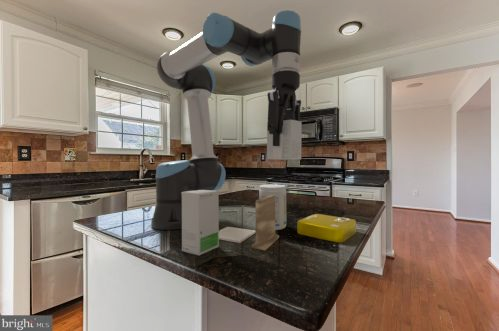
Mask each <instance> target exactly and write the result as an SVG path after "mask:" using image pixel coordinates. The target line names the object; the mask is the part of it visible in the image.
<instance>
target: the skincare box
mask: <svg viewBox="0 0 499 331" xmlns="http://www.w3.org/2000/svg"><path fill="white" fill-rule="evenodd" d="M219 193H220V192H219V190H217V191H215V190H196V191H186V192H182V193H181V194H182V229H181V252H184V253H188V254H190V255H194V256H201V255H204V254H206V253H208V252H210V251H212V250H215V249H217V248H219V246H220V239H219V230H220V228H219V226H220V224H219V223H220V219H219V216H220V215H219V214H220V213H219V210H220V207H219V204H220V203H219V202H220V201H219V197H220V196H219Z"/></svg>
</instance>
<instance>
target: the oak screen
mask: <svg viewBox="0 0 499 331" xmlns="http://www.w3.org/2000/svg"><path fill="white" fill-rule="evenodd" d="M255 231H256V233H255V242H253V243H252V244H251V247H250V248H251V249H256V250H262V251H266V250H268V248H270V247H271V246H272V245H273V244H275V242H276V241H278V239H279V238H280V234H279V235H278V234H276V230H275V195H269V196H266V197H264V198H261V199H259V198H258V199H256V200H255Z"/></svg>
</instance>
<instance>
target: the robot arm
mask: <svg viewBox="0 0 499 331" xmlns="http://www.w3.org/2000/svg"><path fill="white" fill-rule="evenodd" d="M271 25H272V27H271V28H269V29H267V30H265V31H263V32H261V33H259V32H257V31H256V30H253V29H252V28H249V27H247V26H245V25H244V24H242V23H239V22H237V21H235V20H234V19H232V18H230V17H228V16H226V15H223V14H221V13H218V12H211V13H209V14H208V15H207V16H206V19H205V20H204V22H203V24H202V30H201V32H200V33H198V34H197V35H196V36H194V37H193V38H191V39H190V40H188V41H187V42H185V43H183V44H182V45H181V46H179V47H178V48H176V49H175V50H168V51H166V52H164V53H163V54H162V55H160V56H159V58H158V60H157V63H156V71H157V74H158V76H159V78H160V80H161V81H162V82H163V83H164V84H165V85H166V86H168V87H171V88H174V89H176V90H180V91H182V97H183V98H184V100H186V102H187V112H188V121H189V122H188V124H189V133H190V134H189V135H190V142H191V145H190V146H191V157H190V158H189V159H188V160H186V159H185V160H184V159H183V160H173V161H172V160H171V161H168V162H167V161H165V162H162V163H158V165H157V166H156V168H155V185H156V186H155V196H156V197H155V198H156V199H155V201H156V202H155V203H156V205H155V208H154V212H153V216H152V218H151V221H150V225H151V228H153V229H155V230H162V231H171V230H172V231H174V230H182V194H181V193H182V192H186V191H196V190H215V191H219V190H220V189H221V188H222V187H223V185H224V184H225V180H226V173H227V172H226V169H225V167H224V165H223V164H221V163H220V162H219V157H218V156H216V155H215V154H214V153H215V152H214V145H213V137H212V136H213V134H212V133H213V132H212V127H211V126H212V125H211V124H212V123H211V116H210V115H211V114H210V107H209V106H210V105H209V99H210V98H211V97H212V94H213V93H214V90H215V89H216V87H215V86H216V76H215V73H214V71H213V70H212V69H211V68H210V67H208V66H206V65H204V64H205V63H207V62H209V61H211V60H213V59H215V58H218V57H220V56H221V55H224V54H225V53H231V54H233V55H237V56H239V57H240V58H241V60H242V62H244V64H245V65H246V66H249V67H254V66H258V65H261V64H263V63H265V62H268V61H271V73H272V75H271V88H272V89H273V90H274V91H271V92H267V101H268V106H267V122H268V125H267V124H266V131H267V130H268V131H269V134H273V159H272V160H276V159H283V134H281V132H282V126H283V121H285V120H296V121H301V106H302V101H301V99H297V95H296V92H297V90H298V89H299V88H300V87H301V86H300V84H301V79H300V78H301V75H300V71H301V70H300V69H301V60H302V59H301V39H302V38H301V36H302V30H301V29H302V27H301V26H302V24H301V16H300V15H299V14H298V13H297V12H296V11H294V10H289V9H288V10H280V11H279V12H277V13H275V15H274V16H273V18H272V23H271Z"/></svg>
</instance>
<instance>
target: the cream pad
mask: <svg viewBox="0 0 499 331" xmlns="http://www.w3.org/2000/svg"><path fill="white" fill-rule="evenodd" d="M253 235H256V229H255V230H254V229H253V230H252V229H247V228H241V227H240V228H239V227H233V226H226V227H224V228H222V229H219V241H220V240H221V241H226V242H233V243H237V244H242V243H243V242H244V241H246V240H247V239H249V238H250V237H253Z"/></svg>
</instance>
